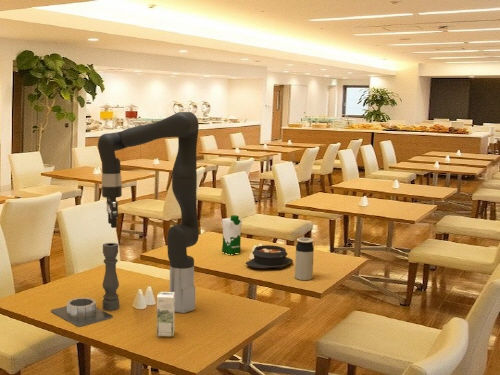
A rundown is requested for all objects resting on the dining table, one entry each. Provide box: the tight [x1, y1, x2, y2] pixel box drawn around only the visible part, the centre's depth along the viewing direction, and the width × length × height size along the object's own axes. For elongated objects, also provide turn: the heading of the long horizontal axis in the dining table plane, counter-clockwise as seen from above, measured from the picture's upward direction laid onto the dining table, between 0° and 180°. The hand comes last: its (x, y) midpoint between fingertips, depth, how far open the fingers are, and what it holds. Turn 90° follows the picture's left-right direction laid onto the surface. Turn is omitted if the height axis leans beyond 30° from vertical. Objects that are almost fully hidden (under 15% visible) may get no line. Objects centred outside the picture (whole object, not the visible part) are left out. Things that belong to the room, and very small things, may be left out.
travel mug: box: [294, 237, 315, 281], centre depth 287 cm, size 8×8×18 cm
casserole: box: [245, 244, 294, 269], centre depth 306 cm, size 25×19×8 cm
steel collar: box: [50, 297, 114, 328], centre depth 235 cm, size 20×14×5 cm
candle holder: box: [102, 242, 120, 312], centre depth 241 cm, size 6×6×25 cm
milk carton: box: [221, 215, 243, 255], centre depth 326 cm, size 9×9×20 cm
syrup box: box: [156, 291, 175, 338], centre depth 218 cm, size 6×6×14 cm
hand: (112, 225), depth 249 cm, fingers open, 8 cm apart
